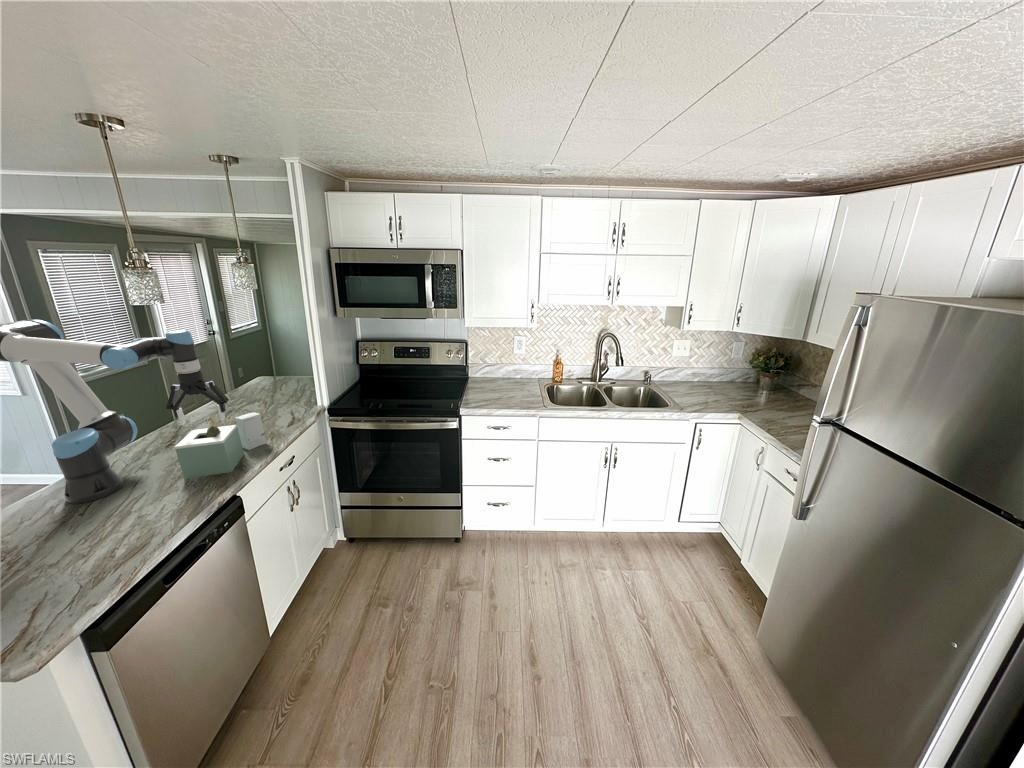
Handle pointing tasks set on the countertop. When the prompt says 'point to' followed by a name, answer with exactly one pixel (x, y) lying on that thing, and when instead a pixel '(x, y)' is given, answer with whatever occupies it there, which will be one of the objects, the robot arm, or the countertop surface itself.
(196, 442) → the box
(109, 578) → the countertop surface
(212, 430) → the vegetable
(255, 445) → the skincare box
